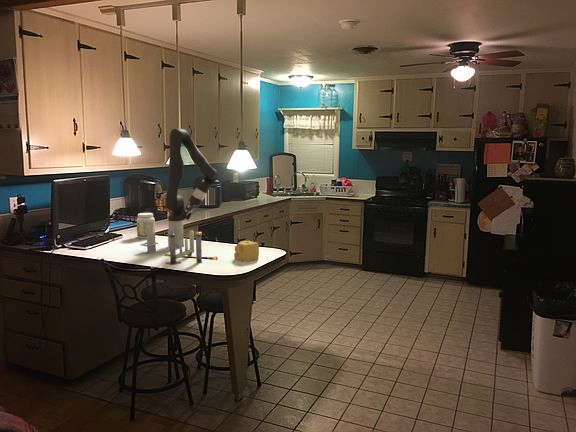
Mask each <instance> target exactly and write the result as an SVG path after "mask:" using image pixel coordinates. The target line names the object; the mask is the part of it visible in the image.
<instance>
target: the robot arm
mask: <svg viewBox="0 0 576 432" xmlns="http://www.w3.org/2000/svg"><path fill="white" fill-rule="evenodd" d="M190 135H191V134H189V133H188V131H187V130H186V129H184V128H173V129H171V131H170V132H169V163H168V175H167V176H168V177H167V178H168V179H167V188H166V189H167V190H166V193H165V194H166V195H165V200H164V201H165V203H164V204H165V208H166V209H167V210H168V211H170V212H171V213H170V214H169V215H168V217H167V219H168V220H167V223H168V232H167V241H168V243H167V245H168V247H169V248H170V236H169V234H170V233H176V235H175V247H176V249H179V241H182V248H185V239H184V221H185V220H187V221H189V220H190V218H191V217H192V215H194V214H195V212H196V210H197V208H198V207H200V206H201V204H202V203H203V200H204V199H205V198H206V195H207V194H208V191H209V190H210V188H211V186H212V185H213V184H214V183H215V182H216V181H217V179H218V176H219V171H218V170H217V169H215V168H213V167H212V165H210V164H209V161H208V159H207V158H206V157H205V156H204V154H203V153H202V152H201V151H200V149H199V148H198V147H197V146H196V144H195V142H194V141H193V139H192V137H191V136H190ZM182 145H183V146H184V147H185V148H186V149H187V151H188V152H189V156H190V158H191V160H192V161H193V163H194V164H195V165H196V166H197V167H198V168H199V170H200V172H201V173H202V175H203V177H204V178H203V179H202V180H200V181H199V182H198V184H197V185H196V188H195V189H194V190H193V192H192V193H191V195H190V197H189V199H188V201H189V203H187V204H186V206H185V200H184V198H183V197H182V195H178V192H179V191H178V190H179V187H180V185H181V183H182V181H183V178H184V172H185V171H184V170H185V164H184V161H183V160H184V159H183V157H182V154H181V147H182Z"/></svg>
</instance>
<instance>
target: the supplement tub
mask: <svg viewBox="0 0 576 432" xmlns="http://www.w3.org/2000/svg"><path fill="white" fill-rule="evenodd" d="M155 223H156V222H155V217H154V213H153V212H140V213H138V214H137V218H136V236H137V238H138V239H142V240H143V239H144V240H147V236H148V233H152V234H155V235H156V224H155Z"/></svg>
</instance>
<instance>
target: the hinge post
mask: <svg viewBox="0 0 576 432" xmlns="http://www.w3.org/2000/svg"><path fill="white" fill-rule="evenodd" d="M175 235H176V233H170V234H169V236H170V247H169V256H170V259H169V260H170V261H167V262H165V265H166V264H167V265H170V266H174V265H179V264H181V263H182V262H181V261H177V259H176V254H177V252H176V249H177V248H176V247H175Z"/></svg>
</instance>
